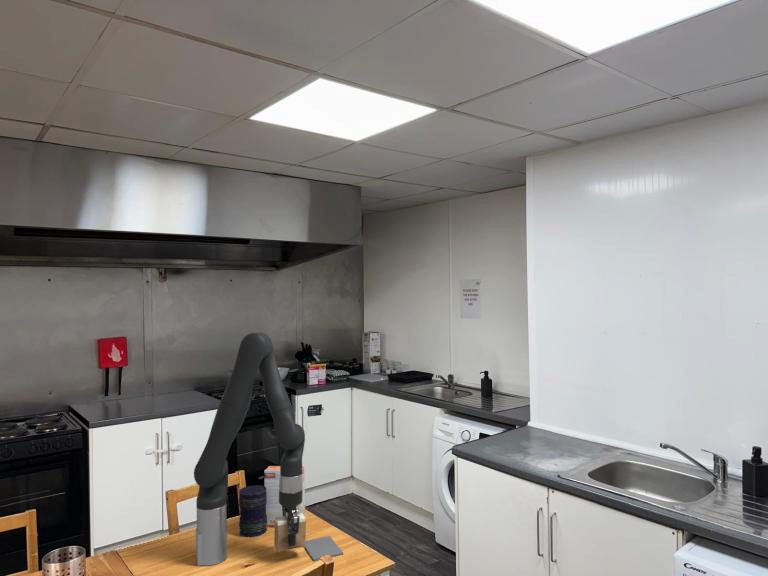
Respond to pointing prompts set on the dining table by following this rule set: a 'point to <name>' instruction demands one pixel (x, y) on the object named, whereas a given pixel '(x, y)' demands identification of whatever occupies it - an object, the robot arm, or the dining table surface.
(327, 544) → the mat
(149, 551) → the dining table surface
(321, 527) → the dining table surface
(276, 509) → the cracker box
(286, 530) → the brown and white block
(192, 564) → the dining table surface
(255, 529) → the storage jar
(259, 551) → the dining table surface
